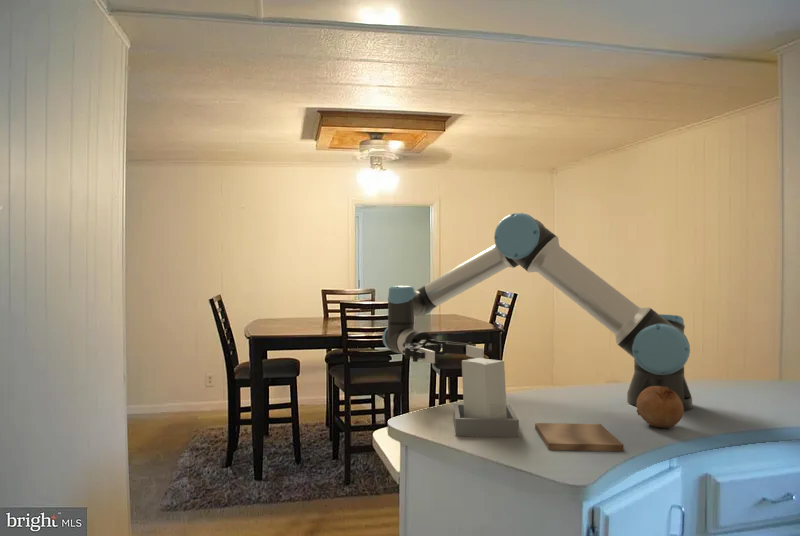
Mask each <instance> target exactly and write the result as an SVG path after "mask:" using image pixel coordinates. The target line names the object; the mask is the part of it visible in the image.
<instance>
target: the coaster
mask: <svg viewBox="0 0 800 536" xmlns="http://www.w3.org/2000/svg"><path fill="white" fill-rule="evenodd" d="M534 429H535V431H536V432H537V434H538V435H539V437H540V439H541V440H542V441H543V443H544V445H545V446H546V448H547V449H548V451H549V450H551V451H555V450H556V451H589V450H590V451H591V450H592V451H595V452H596V451H598V452H624V451H625V449H624V447H625V446H624V443H622V442H621V441H620V440H619V439H618V437H616V436H615V435H613V434H612V433H611V432H610V430H608V429H607V428H606V427H605V426H603V424H601V423H565V422H564V423H560V422H559V423H558V422H557V423H555V422H554V423H553V422H535V423H534Z"/></svg>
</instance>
